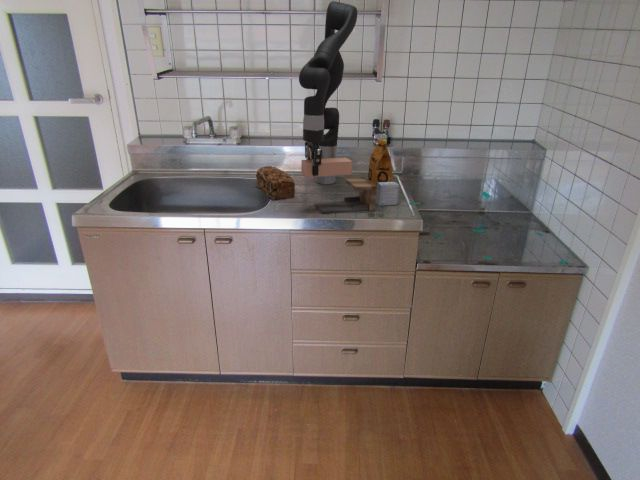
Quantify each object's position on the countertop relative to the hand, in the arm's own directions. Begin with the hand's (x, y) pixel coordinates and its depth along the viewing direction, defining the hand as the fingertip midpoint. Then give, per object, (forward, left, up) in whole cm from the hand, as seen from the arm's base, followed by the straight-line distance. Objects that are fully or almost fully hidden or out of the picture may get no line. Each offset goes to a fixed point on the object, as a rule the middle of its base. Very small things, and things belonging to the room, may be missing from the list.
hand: (312, 172), depth 164 cm
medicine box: (0, +32, -15) cm, 35 cm away
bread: (-24, -9, -15) cm, 30 cm away
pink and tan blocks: (0, +13, -15) cm, 20 cm away
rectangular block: (0, +6, -1) cm, 6 cm away
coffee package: (-16, +36, -15) cm, 42 cm away
